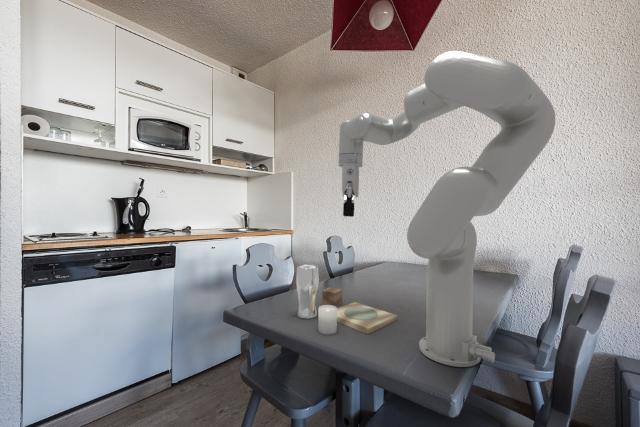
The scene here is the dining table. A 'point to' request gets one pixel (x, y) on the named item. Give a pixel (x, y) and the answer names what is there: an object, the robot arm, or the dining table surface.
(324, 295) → the walnut block
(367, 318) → the birch board
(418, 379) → the dining table surface
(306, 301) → the beer glass
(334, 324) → the white short cylinder
